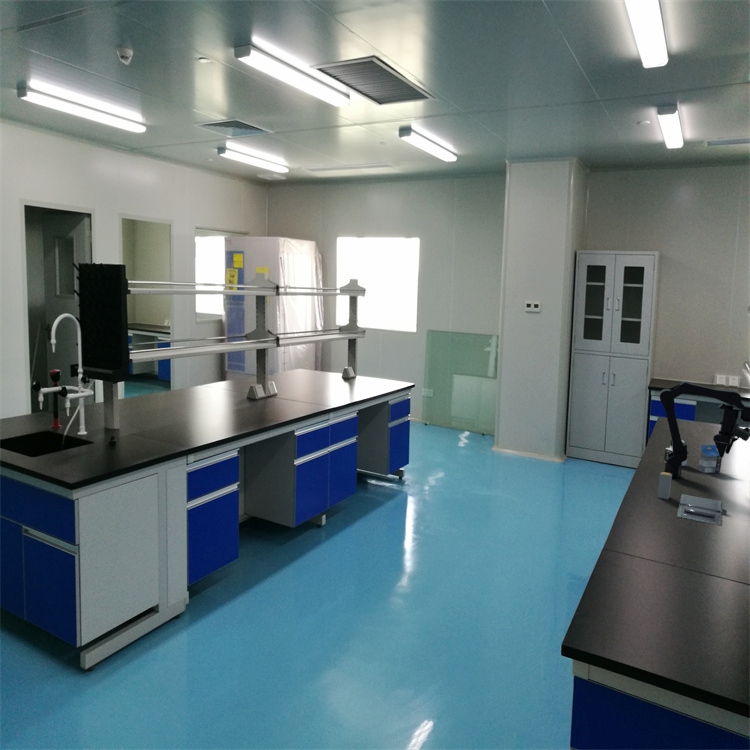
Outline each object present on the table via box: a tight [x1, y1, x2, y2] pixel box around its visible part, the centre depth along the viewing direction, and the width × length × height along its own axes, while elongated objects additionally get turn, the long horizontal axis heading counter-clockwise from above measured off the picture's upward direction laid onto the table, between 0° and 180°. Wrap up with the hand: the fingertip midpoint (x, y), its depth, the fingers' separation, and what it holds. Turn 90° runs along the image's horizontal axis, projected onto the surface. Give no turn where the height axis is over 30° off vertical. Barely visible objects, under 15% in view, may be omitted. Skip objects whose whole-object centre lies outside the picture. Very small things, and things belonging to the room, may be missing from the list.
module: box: [656, 471, 672, 500], centre depth 242 cm, size 4×4×10 cm
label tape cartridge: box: [697, 444, 723, 474], centre depth 281 cm, size 9×4×12 cm, turn 105°
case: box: [676, 493, 728, 526], centre depth 230 cm, size 29×16×2 cm, turn 151°
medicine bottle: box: [663, 438, 689, 467], centre depth 292 cm, size 7×7×12 cm
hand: (724, 455), depth 262 cm, fingers open, 9 cm apart
